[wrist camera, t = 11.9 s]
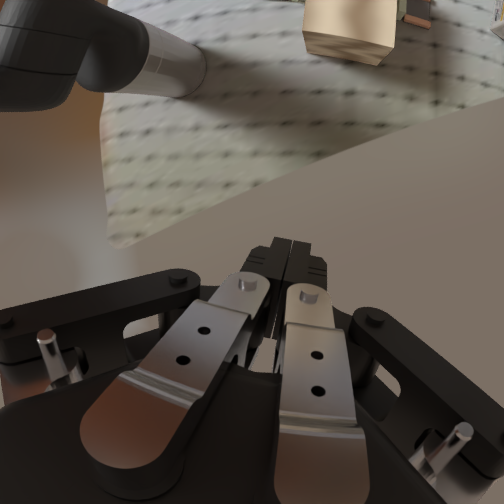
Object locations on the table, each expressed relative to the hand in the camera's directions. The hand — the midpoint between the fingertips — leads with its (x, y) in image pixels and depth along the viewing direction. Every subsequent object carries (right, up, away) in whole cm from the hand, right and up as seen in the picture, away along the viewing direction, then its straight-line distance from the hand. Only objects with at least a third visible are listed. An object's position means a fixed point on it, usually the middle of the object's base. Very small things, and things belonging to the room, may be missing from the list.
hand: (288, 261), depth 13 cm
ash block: (+12, +34, +22) cm, 42 cm away
